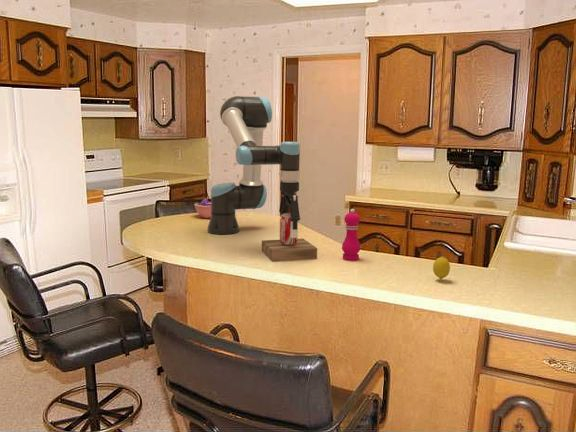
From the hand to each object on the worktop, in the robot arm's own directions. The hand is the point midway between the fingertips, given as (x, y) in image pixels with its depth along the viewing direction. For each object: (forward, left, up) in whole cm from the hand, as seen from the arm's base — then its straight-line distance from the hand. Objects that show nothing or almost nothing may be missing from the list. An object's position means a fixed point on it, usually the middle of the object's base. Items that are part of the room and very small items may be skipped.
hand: (288, 234), depth 202 cm
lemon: (+45, +41, -9) cm, 61 cm away
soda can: (0, 0, -4) cm, 4 cm away
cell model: (-88, -18, -9) cm, 90 cm away
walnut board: (0, 0, -9) cm, 9 cm away
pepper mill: (+12, +22, -9) cm, 27 cm away
